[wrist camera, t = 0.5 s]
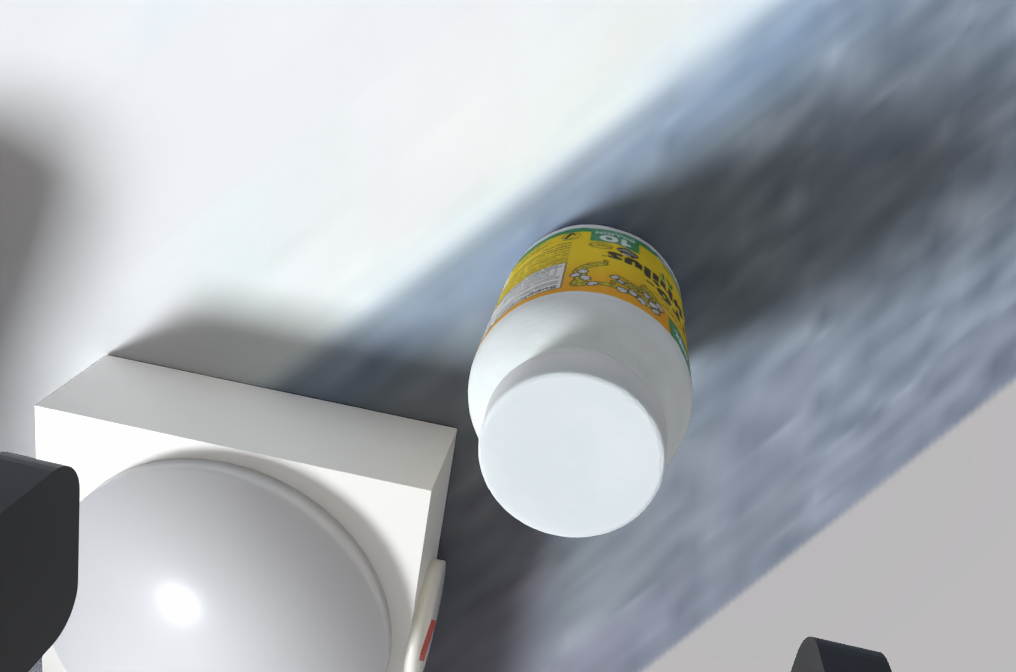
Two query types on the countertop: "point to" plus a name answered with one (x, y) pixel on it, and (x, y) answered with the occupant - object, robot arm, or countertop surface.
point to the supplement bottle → (582, 382)
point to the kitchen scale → (244, 526)
